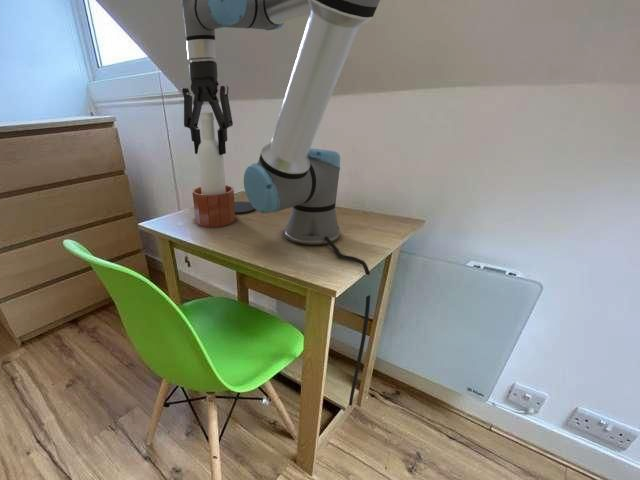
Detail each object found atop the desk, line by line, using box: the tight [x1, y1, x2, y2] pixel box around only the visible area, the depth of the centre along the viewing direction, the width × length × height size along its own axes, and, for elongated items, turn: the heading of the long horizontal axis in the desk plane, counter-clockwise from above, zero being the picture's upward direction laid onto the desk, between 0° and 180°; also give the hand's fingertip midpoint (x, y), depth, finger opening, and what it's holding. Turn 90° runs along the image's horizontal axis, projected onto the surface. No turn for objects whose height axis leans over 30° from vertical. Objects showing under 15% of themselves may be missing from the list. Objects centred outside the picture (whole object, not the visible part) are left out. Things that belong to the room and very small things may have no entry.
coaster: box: [234, 201, 257, 215], centre depth 123 cm, size 13×13×1 cm
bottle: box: [196, 111, 226, 195], centre depth 104 cm, size 8×8×30 cm
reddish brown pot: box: [191, 184, 236, 228], centre depth 111 cm, size 13×13×10 cm
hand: (210, 153), depth 102 cm, fingers closed on bottle, 8 cm apart
